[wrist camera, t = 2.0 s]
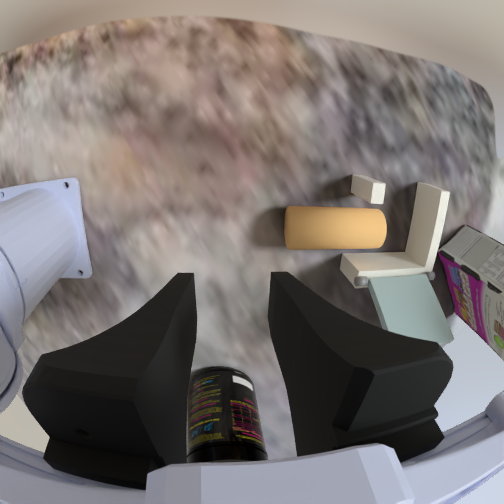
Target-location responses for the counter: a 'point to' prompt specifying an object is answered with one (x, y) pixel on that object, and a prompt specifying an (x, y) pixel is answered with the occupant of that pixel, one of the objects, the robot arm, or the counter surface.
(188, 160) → the counter surface
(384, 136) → the counter surface
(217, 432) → the supplement container
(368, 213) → the tan cylinder roller
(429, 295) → the cover flap
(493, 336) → the candy bar box
